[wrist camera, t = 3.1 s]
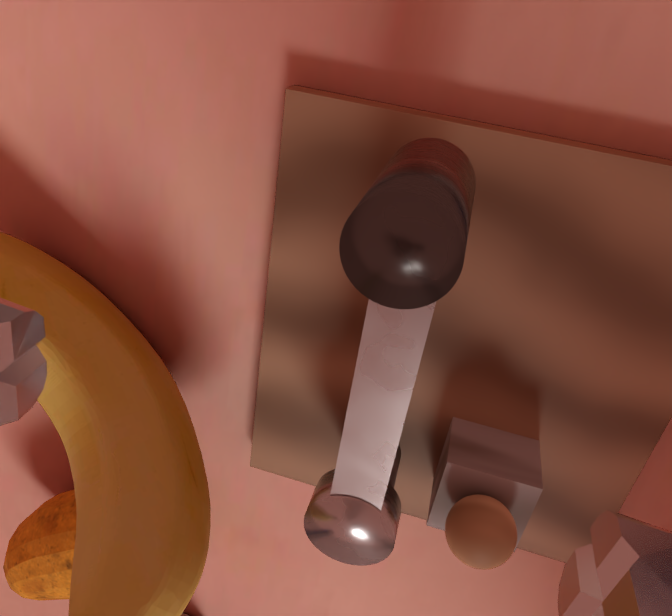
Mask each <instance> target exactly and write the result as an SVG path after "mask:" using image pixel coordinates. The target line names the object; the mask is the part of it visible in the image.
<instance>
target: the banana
mask: <svg viewBox="0 0 672 616" xmlns="http://www.w3.org/2000/svg"><path fill="white" fill-rule="evenodd" d="M0 298H3V299H5V300H8V301H11V302H13V303H16V304H19V305H21V306H24V307H27V308H29V309H32V310H35V311H36V312H38V313H39V314H40V315H41V316H43V317H44V325H45V335H46V337H45V338H44V339H43V340H42V341H41V342H40V343H39V344H38V345H37V347H38V348H39V350H40V351H41V353H42V354H43V356H44V358H45V359H46V361H47V377H46V381H45V385H44V389H43V391H42V392H41V394H40V396H39V397H38V399H37V401H38V402H39V403H40V404H41V406H42V407H43V409H44V410H45V412H46V413H47V415H48V416H49V418H50V419H51V421H52V423H53V424H54V426H55V428H56V430H57V431H58V433H59V435H60V437H61V440H62V442H63V444H64V447H65V450H66V453H67V456H68V459H69V463H70V468H71V472H72V477H73V482H74V490H75V498H76V513H77V517H76V539H75V548H74V557H73V567H72V576H71V585H70V601H69V616H180V615H181V614H182V613H183V611H184V610H185V608H186V606H187V605H188V603H189V601H190V599H191V597H192V596H193V594H194V591H195V589H196V587H197V585H198V583H199V580H200V578H201V575H202V572H203V569H204V566H205V561H206V557H207V552H208V547H209V535H210V498H209V489H208V482H207V477H206V473H205V468H204V463H203V459H202V454H201V451H200V447H199V444H198V440H197V437H196V433H195V430H194V427H193V424H192V421H191V418H190V416H189V413H188V410H187V407H186V404H185V402H184V400H183V398H182V396H181V394H180V392H179V389H178V387H177V385H176V383H175V381H174V380H173V378H172V376H171V374H170V373H169V371H168V369H167V368H166V366H165V364H164V363H163V361H162V360H161V358H160V357H159V355H158V354H157V353H156V352H155V350H154V349H153V348H152V346H151V345H150V344H149V342H148V341H147V340H146V339H145V338H144V336H143V335H142V334H141V333H140V332H139V331H138V330H137V328H136V327H135V326H134V325H133V324H132V323H131V322H130V321H129V320H128V319H127V317H126V316H125V315H124V314H123V313H122V312H121V311H120V310H119V309H118V308H117V307H116V306H115V305H114V304H113V303H112V302H111V301H110V300H109V299H107V298H106V297H105V296H104V295H103V294H102V293H101V292H100V291H99V290H97V289H96V288H95V287H94V286H93V285H92V284H90V283H89V282H88V281H87V280H85V279H84V278H83V277H82V276H80V275H79V274H77V273H76V272H75V271H73V270H72V269H70V268H69V267H67V266H66V265H65V264H63V263H62V262H60V261H58V260H57V259H55V258H53V257H51V256H50V255H48V254H46V253H45V252H43V251H41V250H40V249H38V248H36V247H34V246H32V245H30V244H28V243H26V242H24V241H22V240H20V239H17V238H15V237H13V236H10V235H8V234H5V233H2V232H0Z"/></svg>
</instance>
